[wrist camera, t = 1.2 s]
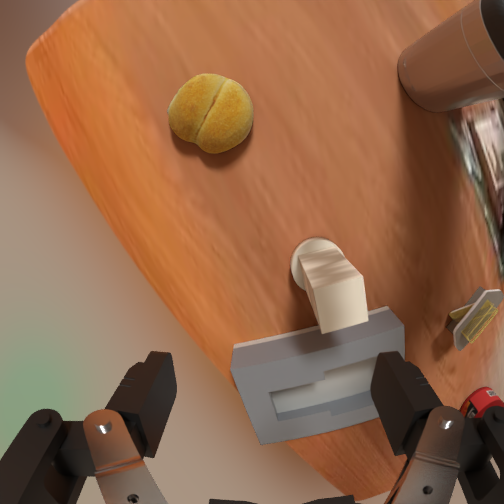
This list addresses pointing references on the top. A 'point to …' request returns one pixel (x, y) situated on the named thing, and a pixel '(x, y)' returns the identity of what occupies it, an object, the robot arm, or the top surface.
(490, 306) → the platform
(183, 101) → the bread roll
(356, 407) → the keyhole plate
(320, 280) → the maple peg
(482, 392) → the canned food
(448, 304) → the top surface
